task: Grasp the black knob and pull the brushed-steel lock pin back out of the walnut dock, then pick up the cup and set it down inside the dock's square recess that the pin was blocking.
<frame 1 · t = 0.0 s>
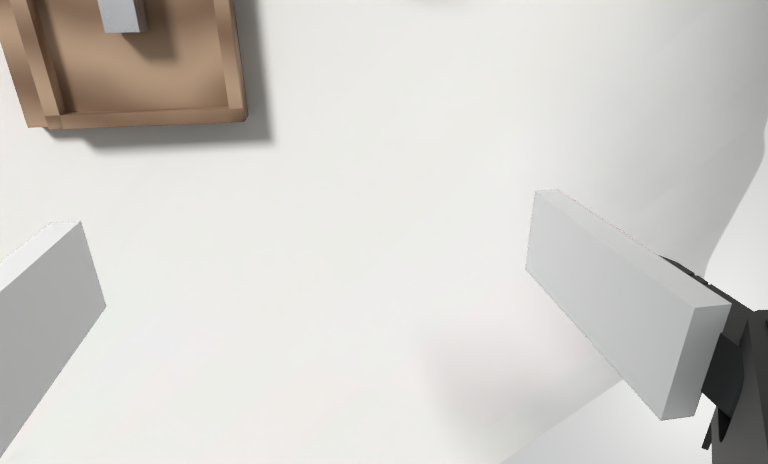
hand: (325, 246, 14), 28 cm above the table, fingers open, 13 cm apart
dock: (120, 2, 34), on the table
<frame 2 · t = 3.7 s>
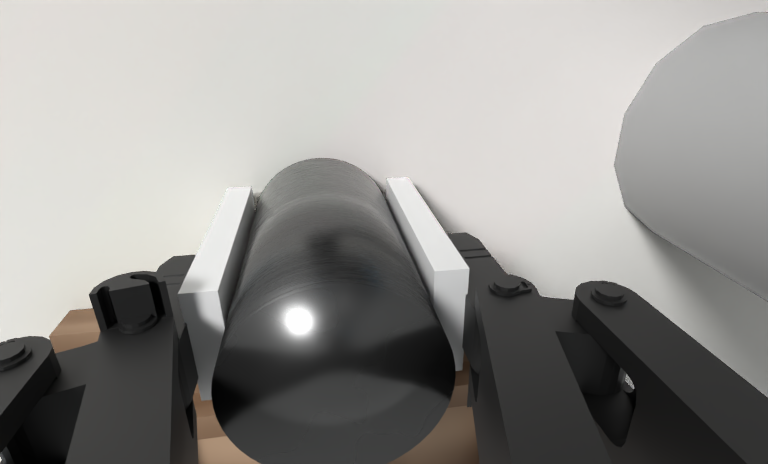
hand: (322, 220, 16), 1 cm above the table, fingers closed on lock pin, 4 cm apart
cup: (715, 135, 18), on the table
dock: (317, 453, 21), on the table
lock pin: (339, 441, 14), point 5 cm above the table, slide at 0.0 cm, touching gripper
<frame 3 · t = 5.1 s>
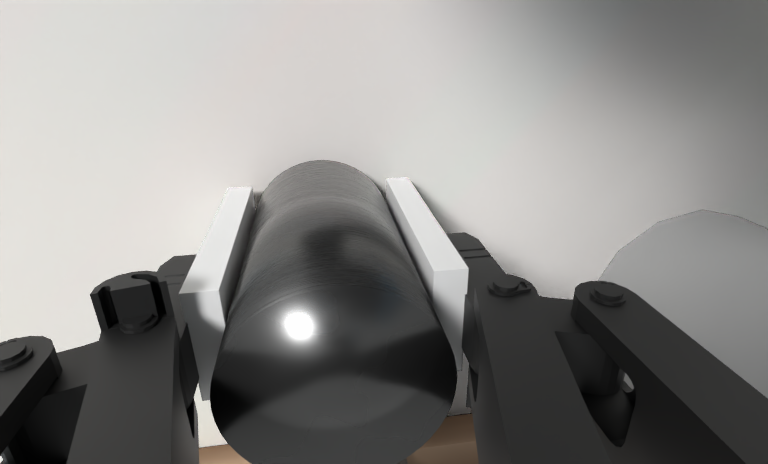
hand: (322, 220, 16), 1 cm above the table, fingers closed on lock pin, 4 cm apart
cup: (672, 298, 21), on the table
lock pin: (339, 445, 14), point 5 cm above the table, slide at 7.0 cm, touching gripper
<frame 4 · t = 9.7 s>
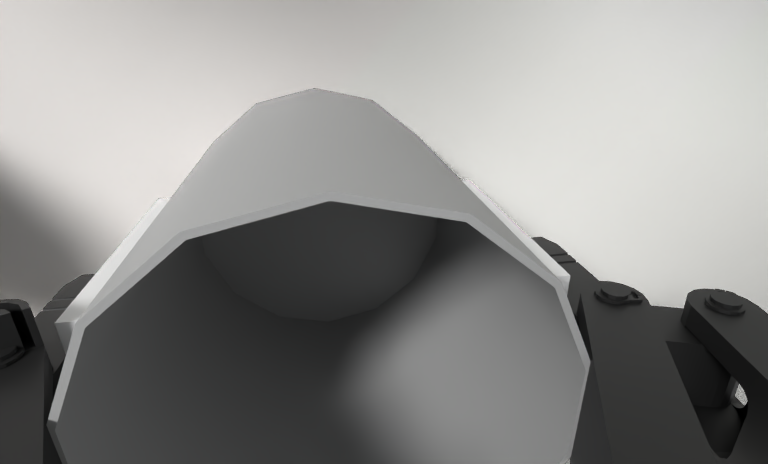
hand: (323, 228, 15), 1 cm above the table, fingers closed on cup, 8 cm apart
cup: (322, 210, 17), on the table, touching gripper
when the fingers open (5 cm above the table, at t = 14.6 s): cup drops 2 cm, resting on dock.
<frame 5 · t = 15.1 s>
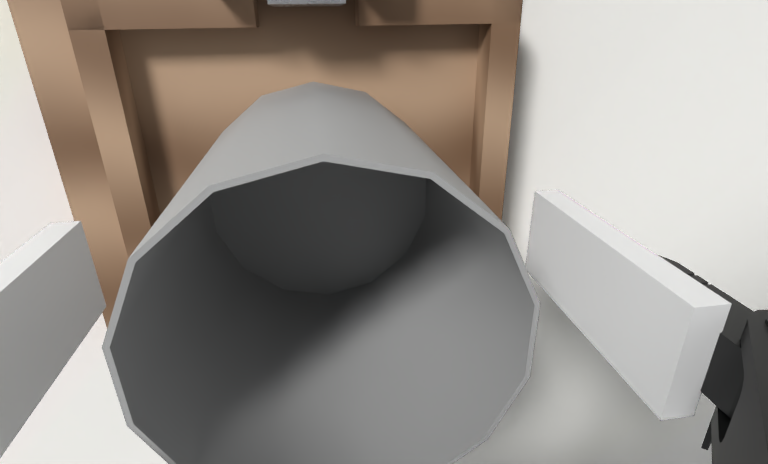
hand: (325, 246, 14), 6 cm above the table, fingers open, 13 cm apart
cup: (321, 193, 18), point 1 cm above the table, touching dock
dock: (291, 148, 19), on the table
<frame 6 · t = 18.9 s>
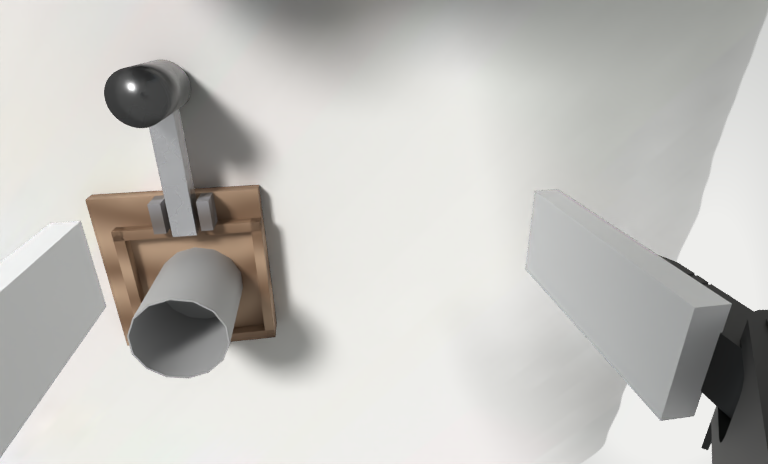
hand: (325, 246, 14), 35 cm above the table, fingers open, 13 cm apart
cup: (202, 282, 50), point 1 cm above the table, touching dock
dock: (192, 264, 51), on the table
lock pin: (165, 158, 41), point 5 cm above the table, slide at 7.1 cm
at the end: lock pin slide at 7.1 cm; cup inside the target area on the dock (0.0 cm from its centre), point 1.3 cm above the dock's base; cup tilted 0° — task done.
